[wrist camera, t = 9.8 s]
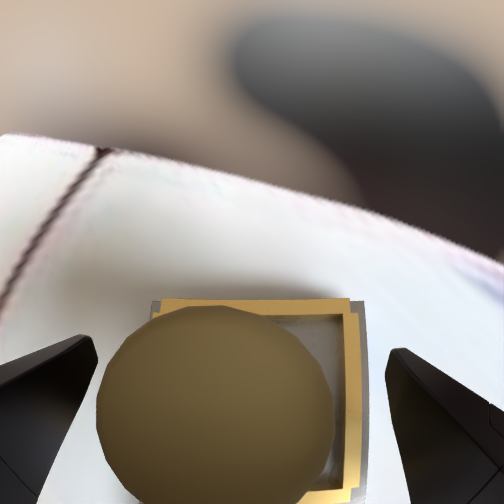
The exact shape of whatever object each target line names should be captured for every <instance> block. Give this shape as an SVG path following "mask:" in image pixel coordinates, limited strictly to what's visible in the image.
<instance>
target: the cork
mask: <svg viewBox="0 0 504 504" xmlns="http://www.w3.org/2000/svg"><path fill="white" fill-rule="evenodd" d="M96 429H97V433H98V436H99V440H100V443H101V446H102V449H103V453H104V456H105V459H106V461H107V462H108V464H109V466H110V467H111V469H112V470H113V472H114V473H115V475H116V476H117V478H118V479H119V481H120V482H121V483H122V485H123V486H124V488H125V489H126V490H128V491H129V492H130V493H131V494H132V495H133V496H135V497H136V498H137V499H138V500H140V501H141V502H142V503H143V504H296V503H298V502H299V501H300V500H301V498H302V497H303V496H304V495H305V494H306V492H307V491H308V490H309V489H310V487H311V486H312V485H313V484H314V482H315V481H316V480H317V479H318V477H319V476H320V475H321V473H322V472H323V470H324V469H325V466H326V463H327V460H328V457H329V454H330V450H331V447H332V444H333V441H334V438H335V411H334V397H333V395H332V392H331V390H330V387H329V385H328V382H327V380H326V378H325V375H324V373H323V370H322V368H321V366H320V363H319V362H318V361H317V360H316V359H315V358H314V356H313V355H312V354H311V353H310V352H309V351H308V350H307V348H306V347H305V346H304V345H303V344H302V343H301V341H300V340H299V339H298V338H297V337H296V336H295V335H294V334H292V333H291V332H289V331H287V330H286V329H284V328H282V327H281V326H279V325H277V324H276V323H274V322H273V321H271V320H269V319H268V318H266V317H264V316H262V315H259V314H255V313H251V312H247V311H243V310H239V309H236V308H232V307H228V306H224V305H214V306H187V307H184V308H181V309H178V310H175V311H172V312H169V313H166V314H163V315H161V316H158V317H155V318H153V319H152V320H150V321H149V322H148V323H146V324H145V325H144V326H142V327H141V328H139V329H138V330H137V331H135V332H134V333H133V334H131V335H130V336H129V337H127V338H126V340H125V341H124V343H123V344H122V345H121V347H120V348H119V349H118V351H117V352H116V353H115V355H114V356H113V358H112V359H111V360H110V362H109V363H108V365H107V367H106V370H105V373H104V376H103V379H102V382H101V385H100V388H99V391H98V394H97V401H96Z"/></svg>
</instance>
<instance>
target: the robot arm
mask: <svg viewBox="0 0 504 504" xmlns="http://www.w3.org/2000/svg"><path fill="white" fill-rule="evenodd" d="M97 364H98V356H97V353H96V350H95V347H94V344H93V341H92V339H91V337H90V336H87V335H81V334H80V335H76V336H74V337H71V338H69V339H66V340H64V341H61V342H59V343H56V344H54V345H51V346H49V347H46V348H43V349H41V350H38V351H36V352H33V353H31V354H28V355H26V356H23V357H21V358H18V359H15V360H13V361H10V362H8V363H5V364H3V365H0V504H36V503H37V501H38V497H39V495H40V493H41V490H42V488H43V485H44V483H45V481H46V478H47V476H48V474H49V471H50V469H51V467H52V465H53V462H54V460H55V458H56V456H57V453H58V451H59V449H60V447H61V445H62V443H63V440H64V438H65V436H66V434H67V432H68V430H69V428H70V426H71V424H72V422H73V420H74V418H75V416H76V414H77V412H78V410H79V408H80V406H81V403H82V401H83V399H84V397H85V394H86V392H87V389H88V386H89V384H90V381H91V379H92V376H93V374H94V371H95V369H96V366H97ZM385 382H386V388H387V394H388V400H389V406H390V413H391V420H392V424H393V429H394V433H395V436H396V440H397V444H398V448H399V452H400V456H401V460H402V464H403V469H404V473H405V478H406V482H407V487H408V491H409V496H410V501H411V504H504V411H502V410H501V409H499V408H498V407H496V406H495V405H493V404H491V403H490V404H489V402H488V401H487V400H485V399H484V398H482V397H481V396H479V395H478V394H476V393H474V392H473V391H471V390H470V389H468V388H467V387H465V386H464V385H462V384H461V383H459V382H458V381H456V380H454V379H453V378H451V377H450V376H448V375H447V374H445V373H444V372H442V371H441V370H439V369H437V368H436V367H434V366H433V365H431V364H430V363H428V362H427V361H425V360H424V359H422V358H421V357H419V356H417V355H416V354H414V353H413V352H411V351H410V350H408V349H407V348H394V349H392V350H391V352H390V355H389V359H388V363H387V367H386V371H385Z"/></svg>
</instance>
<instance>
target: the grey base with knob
mask: <svg viewBox="0 0 504 504" xmlns="http://www.w3.org/2000/svg"><path fill="white" fill-rule="evenodd" d="M214 305H224V306H228V307H232V308H236V309H239V310H243V311H247V312H251V313H255V314H259V315H262V316H264V317H266V318H268V319H269V320H271V321H273V322H274V323H276V324H277V325H279V326H281V327H282V328H284V329H286V330H287V331H289V332H291V333H292V334H294V335H295V336H296V337H297V338H298V339H299V340H300V341H301V343H302V344H303V345H304V346H305V347H306V348H307V350H308V351H309V352H310V353H311V354H312V355H313V356H314V358H315V359H316V360H317V361H318V362H319V363H320V366H321V368H322V370H323V373H324V375H325V378H326V380H327V382H328V385H329V387H330V390H331V392H332V395H333V397H334V411H335V438H334V441H333V444H332V447H331V450H330V454H329V457H328V460H327V463H326V466H325V469H324V470H323V472H322V473H321V475H320V476H319V477H318V479H317V480H316V481H315V482H314V484H313V485H312V486H311V487H310V489H309V490H308V491H307V492H306V494H305V495H304V496H303V497H302V498H301V500H300V501H299V502H298V503H296V504H365V496H366V484H367V469H368V449H369V370H368V349H367V332H366V319H365V307H364V301H350V299H349V298H337V299H295V300H206V299H165V298H162V301H161V302H159V301H152V306H151V314H150V320H152V319H153V318H155V317H158V316H161V315H163V314H166V313H169V312H172V311H175V310H178V309H181V308H184V307H187V306H214ZM140 504H143V503H142V502H141V501H140Z"/></svg>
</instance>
